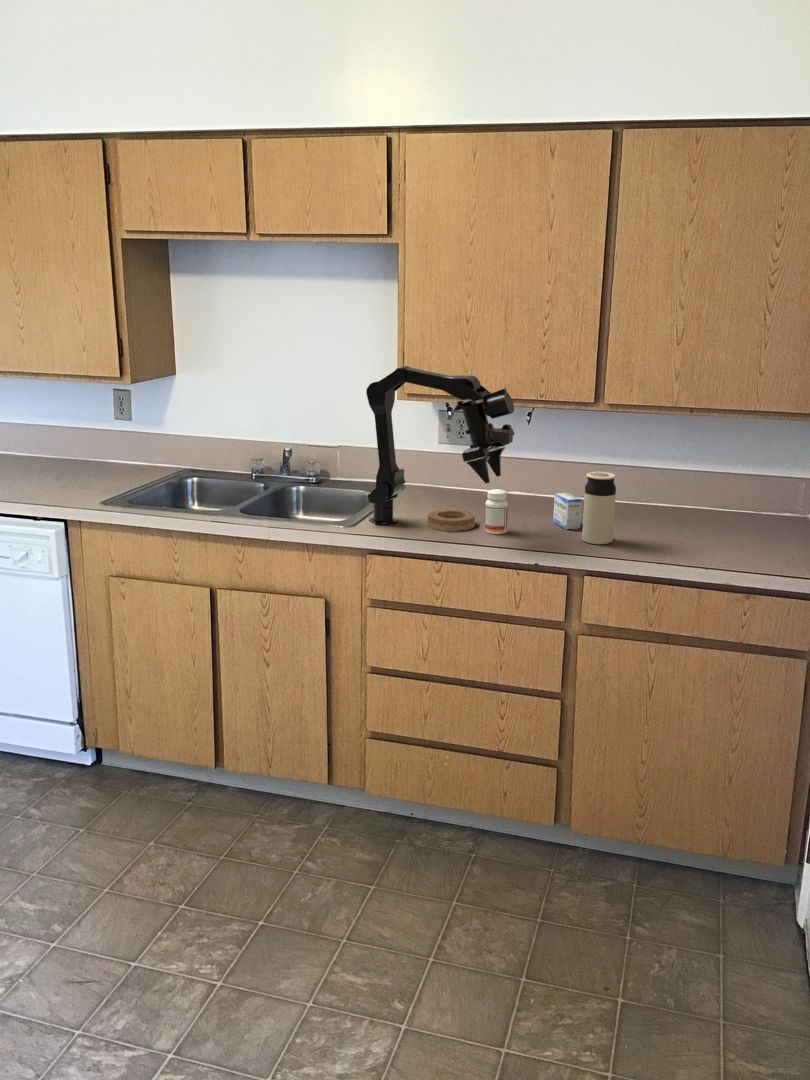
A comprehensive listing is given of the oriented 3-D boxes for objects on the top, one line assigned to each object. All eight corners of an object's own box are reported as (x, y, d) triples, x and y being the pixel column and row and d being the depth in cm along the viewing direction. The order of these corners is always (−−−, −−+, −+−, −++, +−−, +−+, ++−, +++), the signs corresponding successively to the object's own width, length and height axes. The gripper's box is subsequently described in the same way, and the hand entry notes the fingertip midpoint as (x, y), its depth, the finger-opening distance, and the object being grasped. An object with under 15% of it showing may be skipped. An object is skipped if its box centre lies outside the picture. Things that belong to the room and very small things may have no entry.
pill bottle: (493, 527, 279) (495, 487, 276) (511, 531, 275) (513, 491, 272) (480, 531, 275) (481, 491, 271) (497, 535, 271) (499, 495, 267)
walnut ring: (420, 521, 284) (420, 511, 283) (460, 517, 289) (461, 507, 289) (441, 533, 273) (441, 522, 272) (483, 528, 278) (483, 517, 277)
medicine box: (552, 523, 283) (553, 493, 281) (566, 522, 285) (567, 492, 283) (566, 530, 276) (567, 499, 274) (580, 529, 278) (582, 498, 275)
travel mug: (590, 546, 262) (594, 478, 257) (576, 538, 269) (580, 472, 264) (617, 543, 264) (622, 476, 259) (603, 535, 271) (607, 470, 266)
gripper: (493, 420, 253) (510, 479, 256) (516, 410, 270) (531, 466, 272) (454, 431, 258) (470, 489, 261) (478, 420, 275) (494, 475, 277)
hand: (493, 479), depth 267 cm, fingers open, 9 cm apart
